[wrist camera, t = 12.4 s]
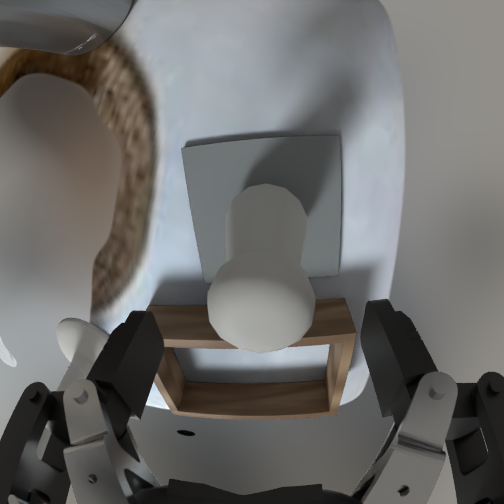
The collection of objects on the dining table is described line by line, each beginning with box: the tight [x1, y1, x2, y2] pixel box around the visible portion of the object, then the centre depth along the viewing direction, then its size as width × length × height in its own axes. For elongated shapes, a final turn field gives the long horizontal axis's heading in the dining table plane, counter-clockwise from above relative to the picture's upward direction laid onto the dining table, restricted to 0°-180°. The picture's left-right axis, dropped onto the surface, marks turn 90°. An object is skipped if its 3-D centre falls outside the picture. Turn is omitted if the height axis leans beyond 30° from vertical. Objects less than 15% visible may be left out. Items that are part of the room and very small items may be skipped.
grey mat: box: [181, 135, 341, 283], centre depth 22 cm, size 12×12×1 cm
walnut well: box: [146, 298, 357, 420], centre depth 27 cm, size 14×20×5 cm
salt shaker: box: [207, 183, 316, 353], centre depth 16 cm, size 6×6×13 cm
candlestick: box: [37, 318, 109, 460], centre depth 19 cm, size 13×13×30 cm
